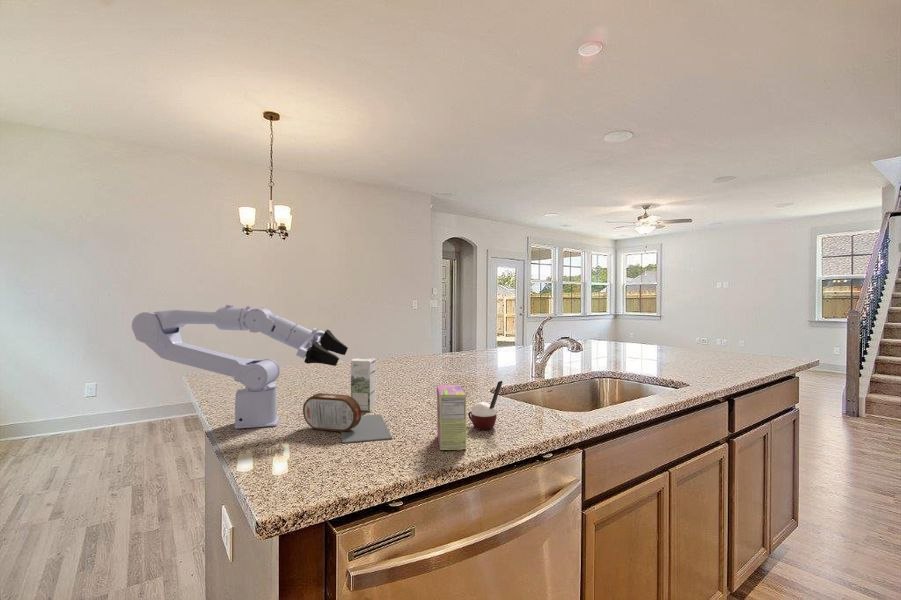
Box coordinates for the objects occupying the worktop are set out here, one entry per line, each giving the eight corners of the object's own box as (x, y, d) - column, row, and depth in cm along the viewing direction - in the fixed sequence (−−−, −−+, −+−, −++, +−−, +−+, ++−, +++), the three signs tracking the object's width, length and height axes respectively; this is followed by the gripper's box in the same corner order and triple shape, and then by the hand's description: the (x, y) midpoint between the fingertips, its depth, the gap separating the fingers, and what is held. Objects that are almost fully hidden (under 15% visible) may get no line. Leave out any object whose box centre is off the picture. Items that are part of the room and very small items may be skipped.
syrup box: (375, 406, 126) (375, 357, 126) (369, 412, 120) (370, 360, 120) (356, 406, 127) (356, 356, 126) (349, 411, 121) (350, 359, 121)
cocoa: (464, 426, 109) (462, 379, 109) (485, 422, 112) (483, 376, 112) (485, 435, 100) (483, 384, 100) (507, 430, 103) (504, 380, 103)
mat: (342, 443, 95) (342, 442, 95) (338, 418, 114) (338, 417, 114) (392, 438, 98) (392, 437, 98) (380, 415, 117) (380, 414, 117)
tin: (362, 429, 103) (361, 394, 102) (355, 434, 100) (354, 397, 99) (309, 425, 108) (308, 391, 107) (301, 429, 105) (299, 394, 104)
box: (436, 435, 100) (436, 384, 100) (461, 435, 101) (461, 384, 101) (439, 451, 90) (439, 395, 90) (466, 451, 90) (466, 394, 90)
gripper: (285, 329, 101) (338, 353, 102) (308, 313, 116) (355, 334, 116) (276, 355, 103) (328, 378, 104) (299, 336, 117) (346, 356, 118)
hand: (342, 356), depth 110 cm, fingers open, 7 cm apart
